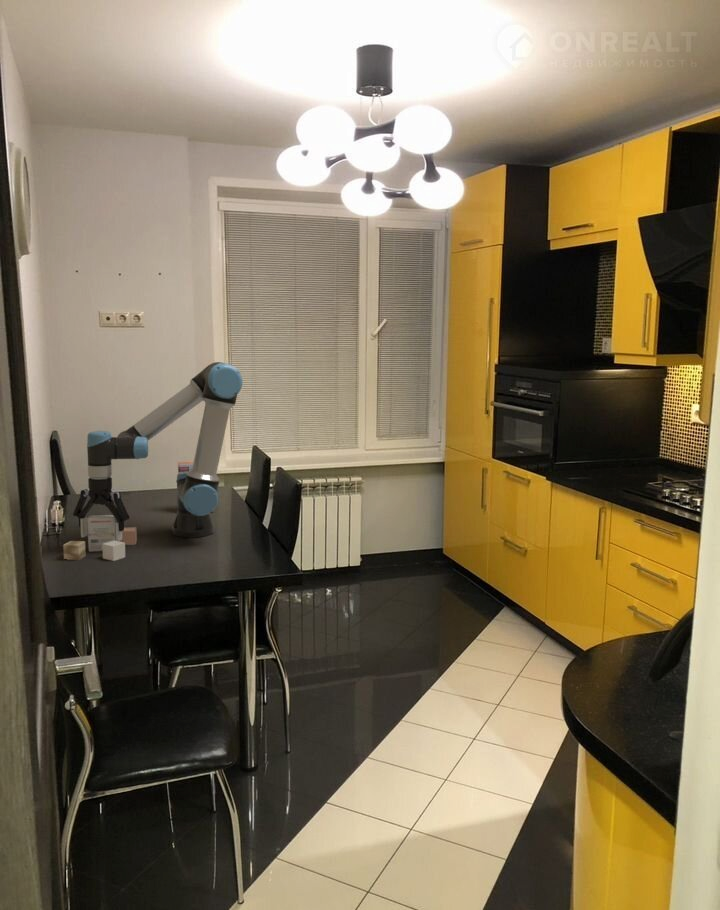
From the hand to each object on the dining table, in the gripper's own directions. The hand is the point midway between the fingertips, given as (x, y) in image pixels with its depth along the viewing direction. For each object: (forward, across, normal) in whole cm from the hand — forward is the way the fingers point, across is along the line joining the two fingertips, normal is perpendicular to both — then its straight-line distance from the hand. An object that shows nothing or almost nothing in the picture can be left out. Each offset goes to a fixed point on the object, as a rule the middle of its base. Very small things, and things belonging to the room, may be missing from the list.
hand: (101, 538), depth 251 cm
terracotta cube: (+4, -4, -10) cm, 12 cm away
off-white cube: (+4, -9, +7) cm, 12 cm away
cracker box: (+4, -5, -60) cm, 60 cm away
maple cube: (+4, +3, +11) cm, 12 cm away
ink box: (+4, 0, 0) cm, 4 cm away
